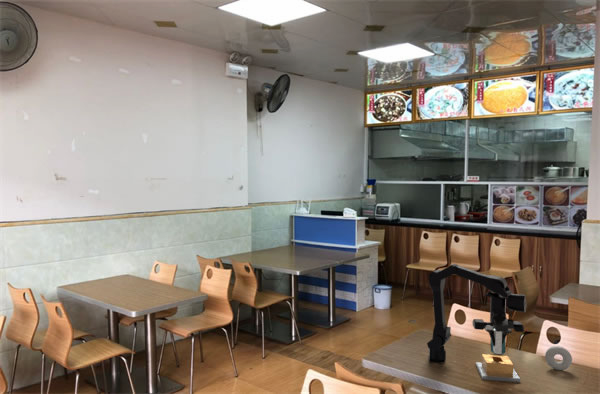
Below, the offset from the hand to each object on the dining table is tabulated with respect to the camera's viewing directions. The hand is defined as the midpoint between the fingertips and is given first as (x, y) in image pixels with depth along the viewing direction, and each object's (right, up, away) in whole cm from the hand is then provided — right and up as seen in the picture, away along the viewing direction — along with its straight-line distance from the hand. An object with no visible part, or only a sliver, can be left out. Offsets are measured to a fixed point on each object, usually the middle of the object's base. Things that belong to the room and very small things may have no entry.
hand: (497, 346), depth 188 cm
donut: (+27, -12, +4) cm, 30 cm away
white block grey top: (0, -3, 0) cm, 3 cm away
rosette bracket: (0, -12, 0) cm, 12 cm away
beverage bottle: (+9, -11, +21) cm, 25 cm away
